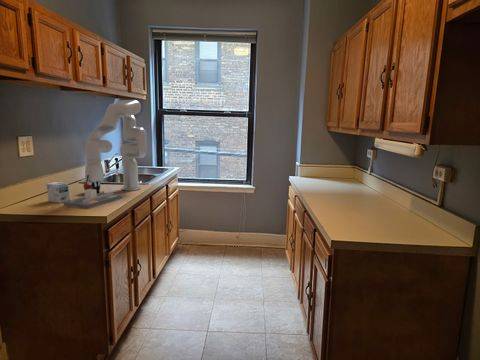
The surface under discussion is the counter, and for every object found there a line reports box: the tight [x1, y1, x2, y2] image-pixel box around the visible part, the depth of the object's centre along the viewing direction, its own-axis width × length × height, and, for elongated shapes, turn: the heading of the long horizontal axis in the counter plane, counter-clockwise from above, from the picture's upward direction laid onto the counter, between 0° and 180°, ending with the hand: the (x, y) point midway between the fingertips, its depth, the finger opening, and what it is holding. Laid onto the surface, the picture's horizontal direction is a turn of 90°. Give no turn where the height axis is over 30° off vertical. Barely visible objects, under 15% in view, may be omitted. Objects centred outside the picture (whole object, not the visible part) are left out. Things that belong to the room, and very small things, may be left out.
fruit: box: [83, 181, 101, 191], centre depth 211 cm, size 11×10×10 cm
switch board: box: [63, 191, 123, 209], centre depth 189 cm, size 26×18×4 cm
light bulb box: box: [46, 181, 71, 204], centre depth 189 cm, size 11×7×11 cm, turn 66°
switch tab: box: [83, 189, 97, 199], centre depth 186 cm, size 4×5×5 cm
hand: (96, 193), depth 190 cm, fingers closed
